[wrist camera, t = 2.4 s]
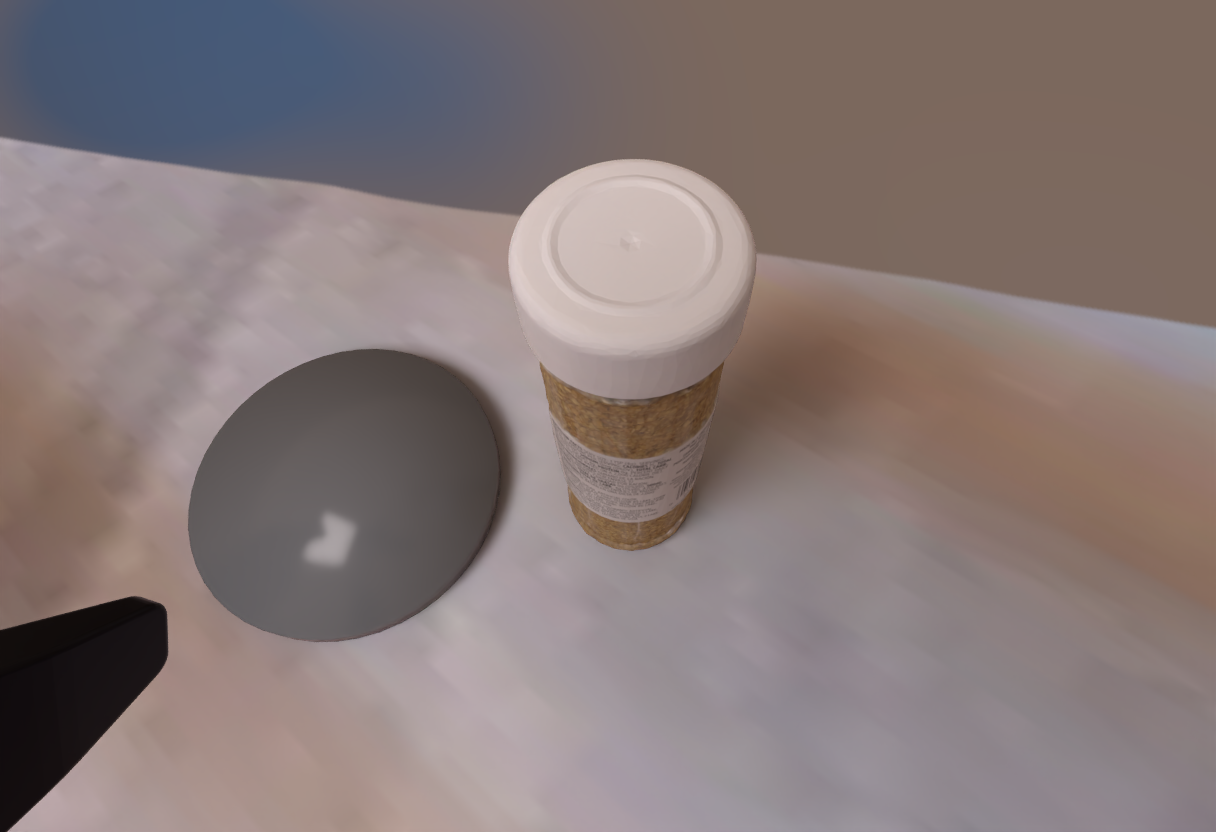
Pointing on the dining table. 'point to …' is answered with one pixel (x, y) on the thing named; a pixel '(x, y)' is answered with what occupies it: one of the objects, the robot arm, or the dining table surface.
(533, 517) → the dining table surface
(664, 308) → the sprinkles bottle
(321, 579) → the slate gray plate
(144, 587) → the dining table surface
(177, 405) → the dining table surface
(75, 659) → the robot arm
